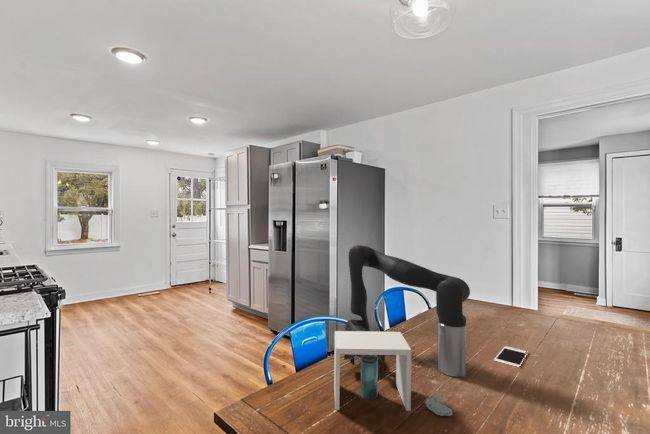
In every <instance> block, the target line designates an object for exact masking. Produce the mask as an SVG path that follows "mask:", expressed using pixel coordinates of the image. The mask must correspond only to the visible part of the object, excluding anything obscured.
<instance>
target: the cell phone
mask: <svg viewBox="0 0 650 434" xmlns="http://www.w3.org/2000/svg"><path fill="white" fill-rule="evenodd" d="M526 351H527V350H522V349H519V348H514V347H511V346H504V347H503V348H502V349H501V350H500V351H499V352H498V354H497V355H496V357H494V358H493V362H495V361H497V362H496V363H498V362H501V363H500V364H502V363H505V364H509V365H513V366H517V367H519V366H521V364H522V362H523V360H522V359H524V357H526V355H527V354H526V353H525V352H526ZM523 363H524V362H523ZM505 364H504V365H505ZM509 365H508V366H509ZM522 365H523V364H522ZM521 367H522V366H521Z"/></svg>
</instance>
